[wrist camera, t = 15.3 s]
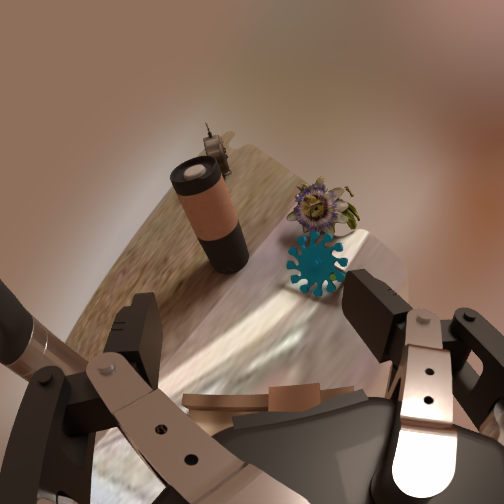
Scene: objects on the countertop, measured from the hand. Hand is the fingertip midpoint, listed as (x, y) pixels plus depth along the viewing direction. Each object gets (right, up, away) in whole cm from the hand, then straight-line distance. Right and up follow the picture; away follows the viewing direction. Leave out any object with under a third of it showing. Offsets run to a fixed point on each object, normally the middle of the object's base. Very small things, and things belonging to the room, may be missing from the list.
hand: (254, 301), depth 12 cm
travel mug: (-4, 0, +44) cm, 44 cm away
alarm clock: (-8, +23, +68) cm, 72 cm away
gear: (+11, -3, +35) cm, 37 cm away
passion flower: (+14, +7, +44) cm, 47 cm away
